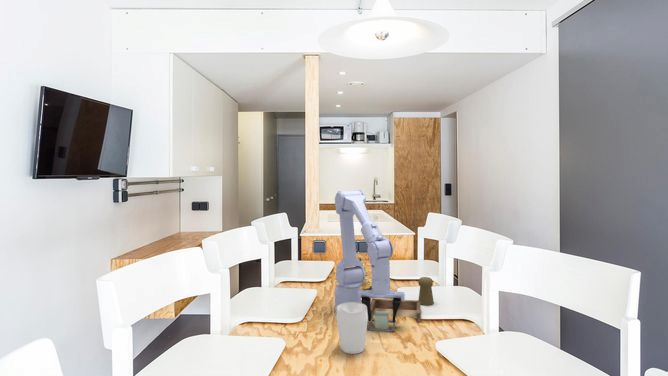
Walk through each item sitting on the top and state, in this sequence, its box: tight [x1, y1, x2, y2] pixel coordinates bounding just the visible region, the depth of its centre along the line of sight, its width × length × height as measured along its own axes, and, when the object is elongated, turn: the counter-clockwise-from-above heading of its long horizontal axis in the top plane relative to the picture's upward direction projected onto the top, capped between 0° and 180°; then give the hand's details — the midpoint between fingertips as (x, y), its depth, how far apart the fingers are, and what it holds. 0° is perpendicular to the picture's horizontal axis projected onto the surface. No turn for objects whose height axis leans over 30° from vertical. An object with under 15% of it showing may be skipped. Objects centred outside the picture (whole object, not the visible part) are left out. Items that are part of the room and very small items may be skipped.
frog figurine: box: [354, 257, 372, 290], centre depth 163 cm, size 10×18×15 cm, turn 86°
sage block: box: [374, 311, 390, 330], centre depth 118 cm, size 4×4×5 cm
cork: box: [417, 276, 435, 307], centre depth 138 cm, size 6×6×11 cm
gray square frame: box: [366, 318, 397, 333], centre depth 118 cm, size 8×8×2 cm
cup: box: [335, 302, 369, 355], centre depth 106 cm, size 9×9×12 cm
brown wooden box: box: [371, 298, 422, 323], centre depth 128 cm, size 17×12×4 cm
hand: (381, 320), depth 118 cm, fingers open, 7 cm apart
